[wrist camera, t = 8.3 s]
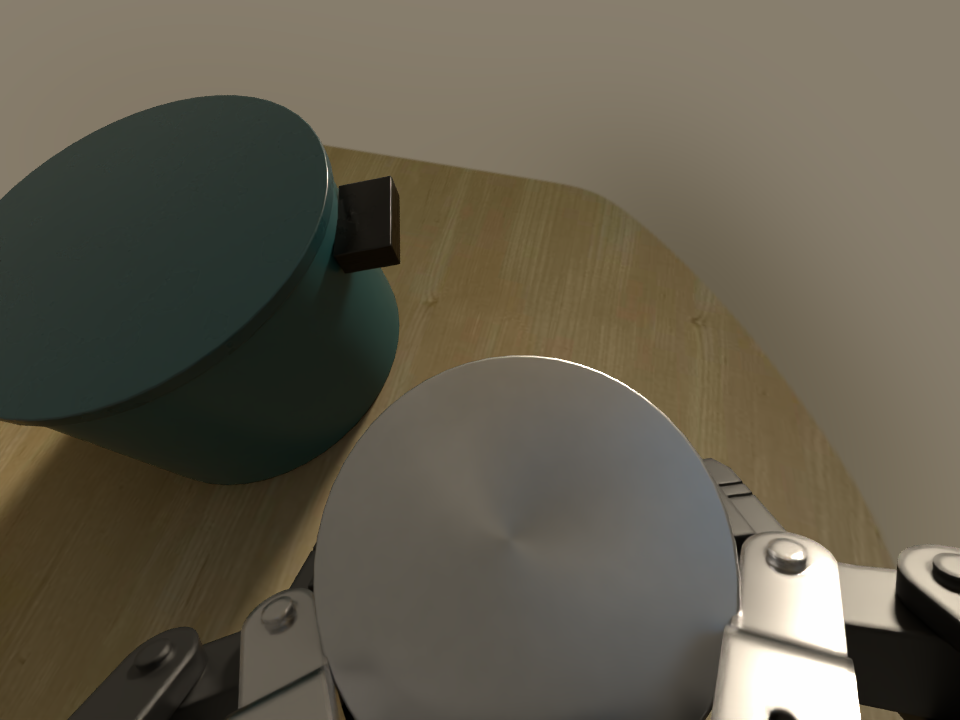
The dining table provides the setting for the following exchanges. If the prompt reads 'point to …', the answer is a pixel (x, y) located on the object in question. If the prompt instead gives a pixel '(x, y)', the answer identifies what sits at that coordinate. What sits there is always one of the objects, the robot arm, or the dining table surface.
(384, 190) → the pot
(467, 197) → the dining table surface
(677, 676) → the can
